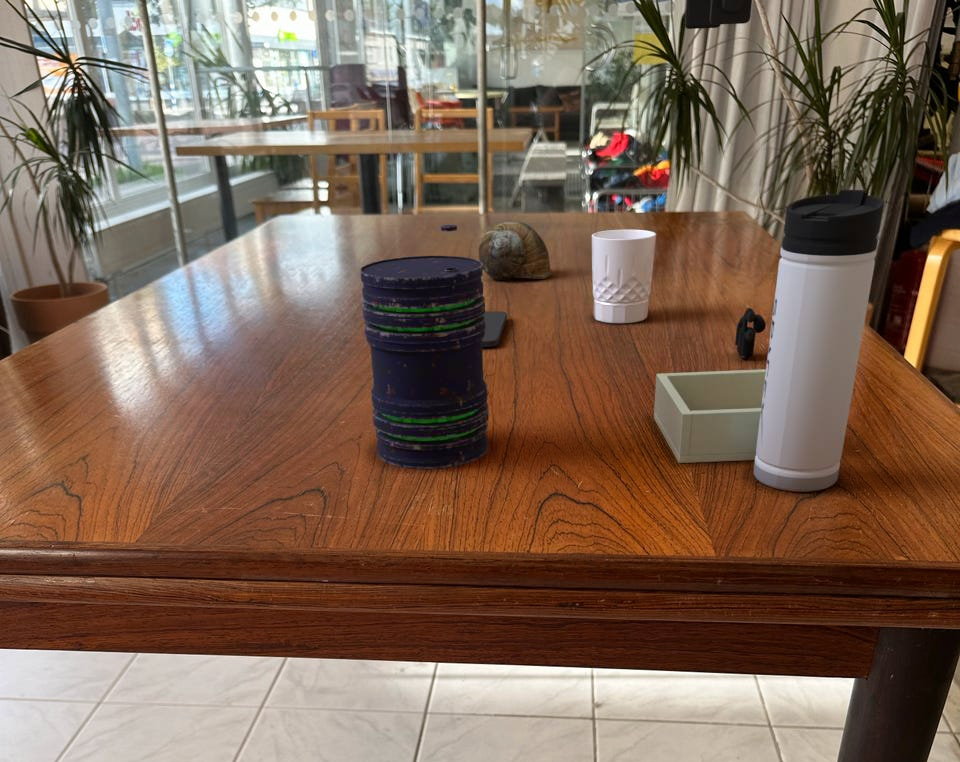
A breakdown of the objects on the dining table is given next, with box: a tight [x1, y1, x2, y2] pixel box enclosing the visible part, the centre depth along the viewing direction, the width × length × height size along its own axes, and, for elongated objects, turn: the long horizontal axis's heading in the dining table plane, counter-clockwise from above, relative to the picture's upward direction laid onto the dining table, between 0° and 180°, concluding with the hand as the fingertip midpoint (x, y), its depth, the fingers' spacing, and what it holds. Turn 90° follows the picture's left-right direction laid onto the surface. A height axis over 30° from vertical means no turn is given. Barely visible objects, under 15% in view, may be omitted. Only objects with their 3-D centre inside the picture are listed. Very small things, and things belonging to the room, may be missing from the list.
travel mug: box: [753, 188, 885, 493], centre depth 68 cm, size 6×7×20 cm
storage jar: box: [359, 224, 490, 470], centre depth 77 cm, size 10×10×18 cm
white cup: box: [591, 229, 657, 324], centre depth 118 cm, size 8×8×10 cm
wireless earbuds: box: [734, 307, 767, 360], centre depth 102 cm, size 7×2×5 cm, turn 174°
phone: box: [482, 310, 508, 348], centre depth 116 cm, size 7×1×15 cm
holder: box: [653, 368, 766, 464], centre depth 80 cm, size 12×12×4 cm
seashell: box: [478, 220, 553, 281], centre depth 144 cm, size 11×9×8 cm
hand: (715, 26), depth 81 cm, fingers open, 9 cm apart
